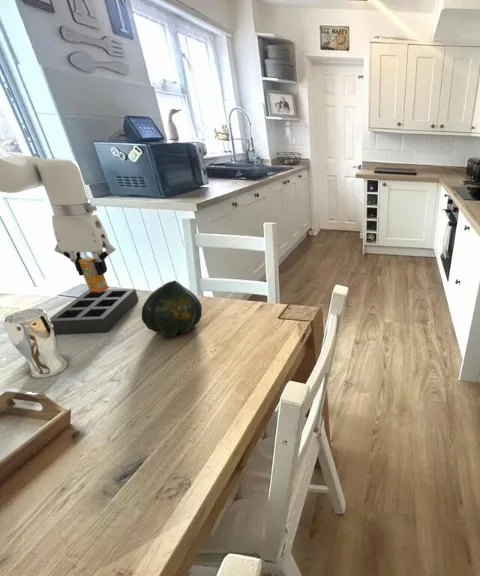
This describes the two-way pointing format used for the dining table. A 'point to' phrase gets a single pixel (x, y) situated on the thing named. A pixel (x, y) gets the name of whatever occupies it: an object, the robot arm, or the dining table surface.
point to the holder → (94, 311)
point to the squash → (171, 309)
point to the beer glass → (35, 341)
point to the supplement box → (92, 275)
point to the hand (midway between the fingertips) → (93, 272)
